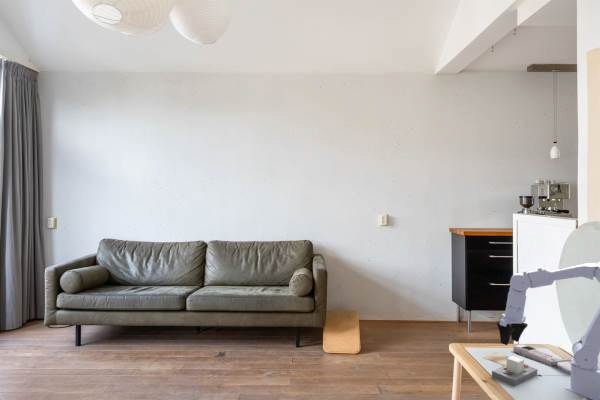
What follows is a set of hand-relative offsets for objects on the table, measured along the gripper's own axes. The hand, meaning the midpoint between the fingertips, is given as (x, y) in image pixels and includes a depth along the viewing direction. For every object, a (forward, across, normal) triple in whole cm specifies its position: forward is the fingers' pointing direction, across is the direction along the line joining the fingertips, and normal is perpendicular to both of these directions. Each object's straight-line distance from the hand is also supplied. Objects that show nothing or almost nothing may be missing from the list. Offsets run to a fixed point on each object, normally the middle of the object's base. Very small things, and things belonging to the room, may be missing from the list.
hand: (509, 342), depth 139 cm
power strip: (+12, 0, +4) cm, 12 cm away
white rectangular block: (+11, 0, +4) cm, 11 cm away
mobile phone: (+11, -24, +2) cm, 27 cm away
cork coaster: (+12, -10, -6) cm, 17 cm away
